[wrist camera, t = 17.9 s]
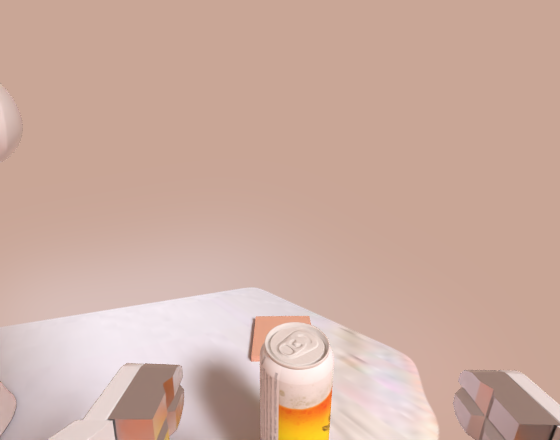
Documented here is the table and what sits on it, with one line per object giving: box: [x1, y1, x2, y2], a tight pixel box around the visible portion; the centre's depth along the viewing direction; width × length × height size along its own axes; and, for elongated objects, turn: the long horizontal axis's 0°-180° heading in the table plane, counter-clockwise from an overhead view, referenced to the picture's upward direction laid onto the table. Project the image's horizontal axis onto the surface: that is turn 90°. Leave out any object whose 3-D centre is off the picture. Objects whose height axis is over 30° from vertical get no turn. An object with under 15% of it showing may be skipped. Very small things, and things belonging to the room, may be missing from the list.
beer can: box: [260, 322, 334, 440], centre depth 23 cm, size 6×6×15 cm
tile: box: [251, 316, 311, 361], centre depth 44 cm, size 1×10×10 cm
